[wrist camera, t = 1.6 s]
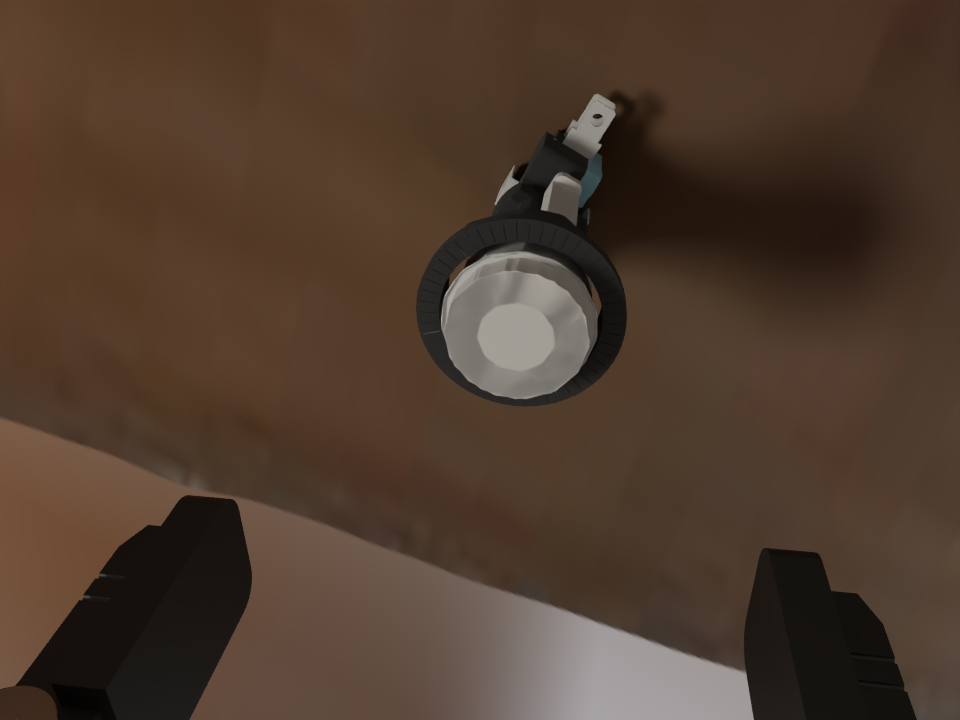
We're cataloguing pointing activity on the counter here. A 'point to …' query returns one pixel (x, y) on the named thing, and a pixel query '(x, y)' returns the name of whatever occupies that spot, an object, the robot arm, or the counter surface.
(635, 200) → the counter surface
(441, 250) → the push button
